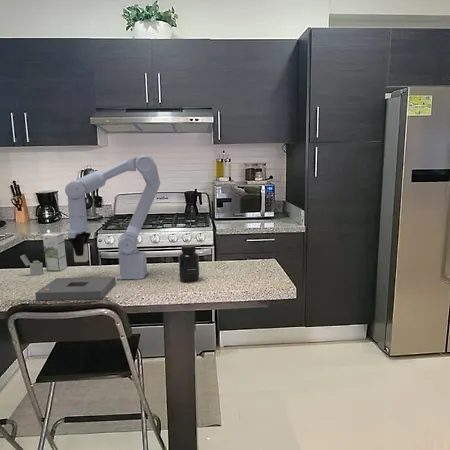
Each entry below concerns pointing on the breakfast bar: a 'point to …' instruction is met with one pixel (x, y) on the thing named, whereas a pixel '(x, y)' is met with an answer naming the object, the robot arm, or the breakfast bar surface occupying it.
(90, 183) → the robot arm
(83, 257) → the plug
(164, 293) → the breakfast bar surface
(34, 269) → the lighter
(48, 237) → the syrup box
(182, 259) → the supplement bottle
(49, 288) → the socket block
